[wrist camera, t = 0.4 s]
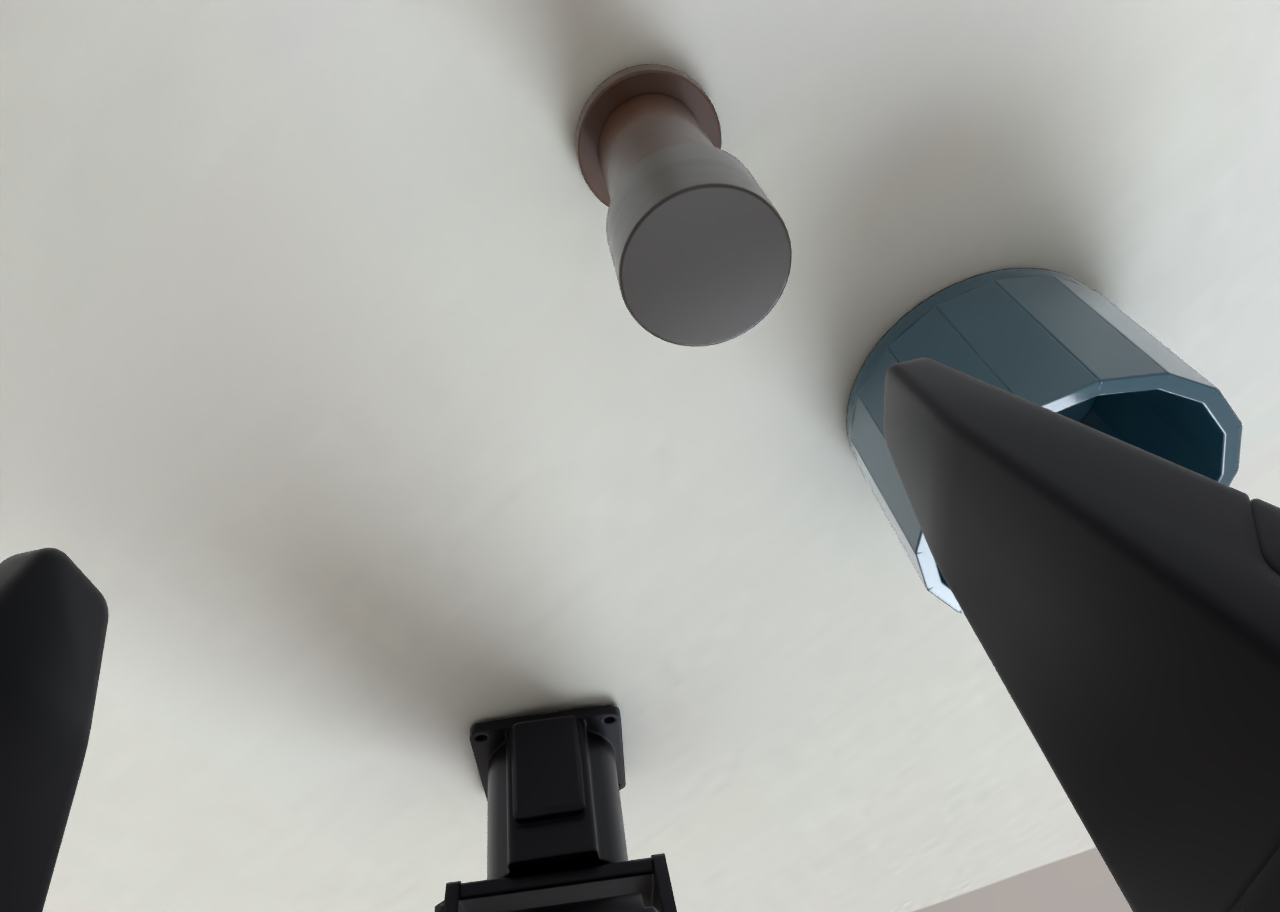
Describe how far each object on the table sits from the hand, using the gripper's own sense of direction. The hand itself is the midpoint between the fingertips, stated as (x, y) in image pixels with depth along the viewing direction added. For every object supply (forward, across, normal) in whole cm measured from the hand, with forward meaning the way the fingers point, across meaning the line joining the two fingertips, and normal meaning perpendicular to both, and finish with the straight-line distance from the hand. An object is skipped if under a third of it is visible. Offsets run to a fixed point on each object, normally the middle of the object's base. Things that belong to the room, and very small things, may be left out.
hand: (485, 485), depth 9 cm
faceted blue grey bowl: (+14, -13, +12) cm, 23 cm away
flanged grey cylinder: (+14, -4, +1) cm, 14 cm away
